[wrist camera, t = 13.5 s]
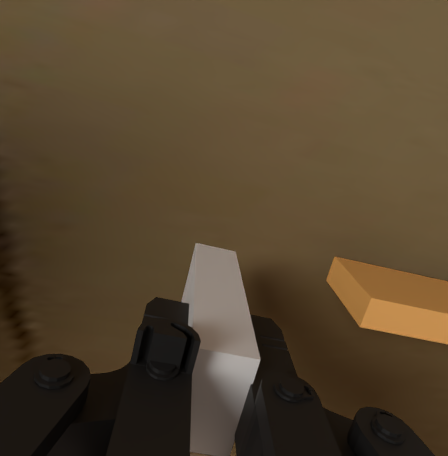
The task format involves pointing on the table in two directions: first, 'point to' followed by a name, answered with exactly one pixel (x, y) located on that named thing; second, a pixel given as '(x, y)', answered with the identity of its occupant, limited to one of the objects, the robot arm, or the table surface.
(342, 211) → the table surface
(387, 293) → the orange long flat block
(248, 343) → the robot arm
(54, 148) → the table surface
